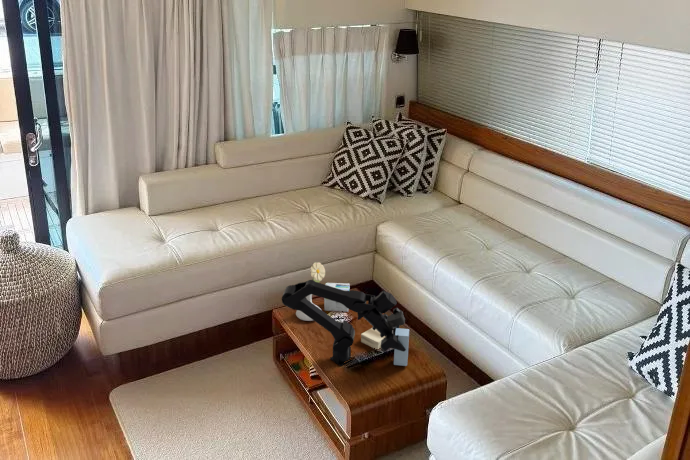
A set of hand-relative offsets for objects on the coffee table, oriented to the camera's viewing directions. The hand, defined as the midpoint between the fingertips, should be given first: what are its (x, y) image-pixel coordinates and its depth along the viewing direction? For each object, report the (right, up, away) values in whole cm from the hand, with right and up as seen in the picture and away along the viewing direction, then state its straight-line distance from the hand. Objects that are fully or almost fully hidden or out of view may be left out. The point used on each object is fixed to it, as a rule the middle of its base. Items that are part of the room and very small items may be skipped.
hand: (405, 346), depth 254 cm
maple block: (-10, -1, +17) cm, 20 cm away
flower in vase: (-37, +7, +36) cm, 52 cm away
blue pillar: (-1, -6, +3) cm, 7 cm away
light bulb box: (-26, +10, +42) cm, 51 cm away
